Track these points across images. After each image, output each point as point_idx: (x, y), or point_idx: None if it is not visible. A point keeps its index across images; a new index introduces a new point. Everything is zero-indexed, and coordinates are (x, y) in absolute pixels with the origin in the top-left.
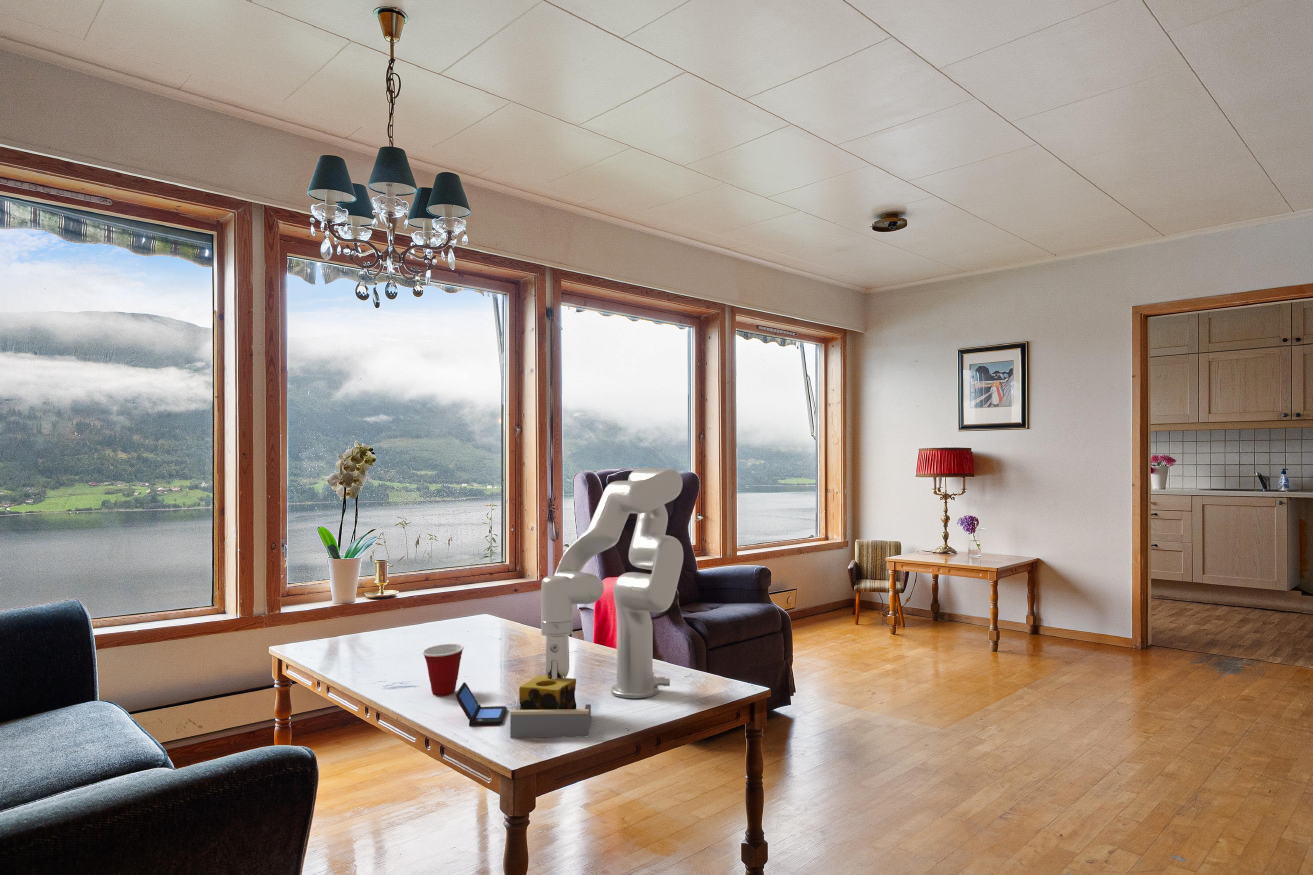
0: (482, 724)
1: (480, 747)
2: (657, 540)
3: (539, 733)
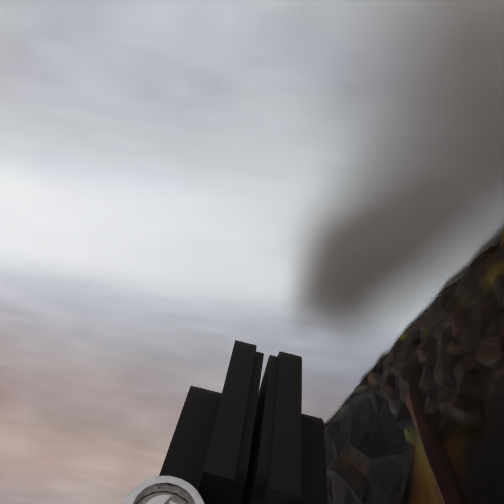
0: None
1: None
2: None
3: None
